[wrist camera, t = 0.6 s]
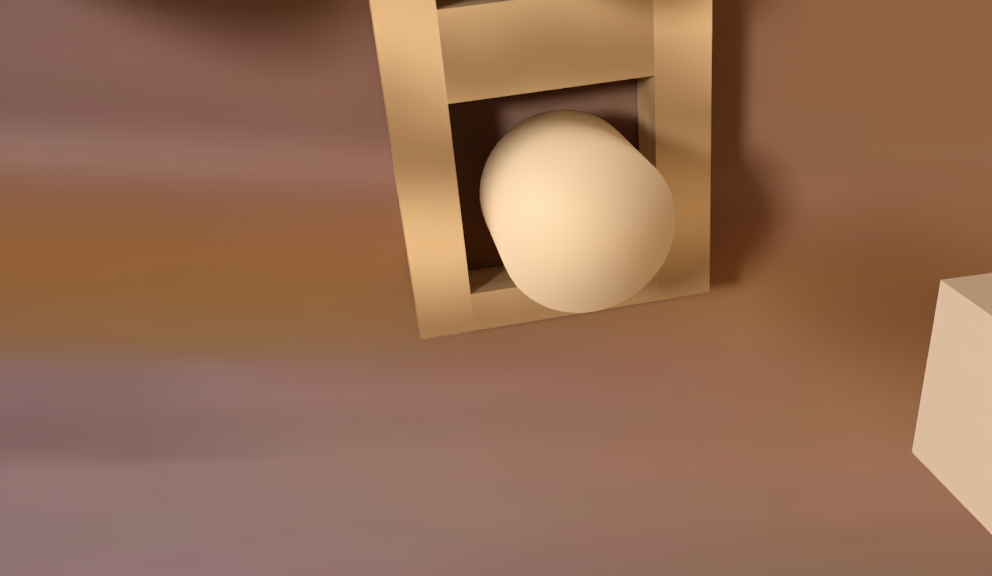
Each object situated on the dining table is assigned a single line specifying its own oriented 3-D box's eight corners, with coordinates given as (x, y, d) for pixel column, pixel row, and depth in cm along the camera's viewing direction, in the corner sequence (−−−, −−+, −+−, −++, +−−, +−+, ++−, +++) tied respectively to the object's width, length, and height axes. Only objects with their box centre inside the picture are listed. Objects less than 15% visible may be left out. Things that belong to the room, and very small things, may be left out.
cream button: (471, 122, 31) (490, 158, 27) (634, 98, 31) (675, 131, 28) (487, 274, 33) (507, 325, 30) (639, 250, 34) (676, 297, 30)
